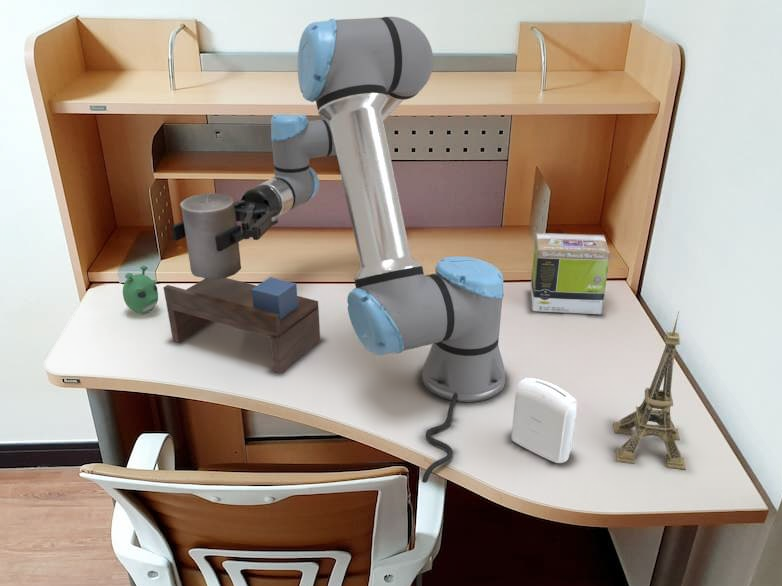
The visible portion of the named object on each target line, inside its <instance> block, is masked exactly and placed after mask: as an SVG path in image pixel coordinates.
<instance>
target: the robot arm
mask: <svg viewBox="0 0 782 586" xmlns="http://www.w3.org/2000/svg"><path fill="white" fill-rule="evenodd" d="M297 51H298V52H297V79H298V86H299V90H300V93H301V94H302V97H303V99H304V100H305V101H308V102H311V103H314V102H315V104H316V108H317V112H318V113H317V114H318V115H319V116H320V117H321V118H323V119H315V120H308V117H307V115H306V114H305V115H289V114H286V115H284V114H283V115H282V114H280V115H275V114H273V116H272V117H271V120H270V140H271V147H272V159H273V174H274V177H272V178H270V179H268V180H266V181H264V182H262V183H259V184H257V185H255V186H253V187H251V188H250V189H247V190H246V191H245V192H244V193H243V195H242V196H241V199H240V200H236V201H234V209H235V216H236V222H241V225H237V224H236V225H237V226H235V227H233V228H231V229H229V230H227V231H226V232H224V233H222V234H220V235H218V236H216V237H215V240H216V247H217V251H222V250H224V249H226V248H228V247H229V246H231V245H233V244H235V243H237V242H241V241H243V240H249V239H250V238H252V240H253V241H258V240H260V239H261V238H262V237H264V235H265V234H266V233H267V232H268V230H270V229H271V228H272V227H273V226H275V225H276V224H278V223H279V217H280V216H282V215H284V214H286V213H288V212H290V211H291V210H293V209H295V208H297V207H299V206H301V205H304V204H306V203H307V202H309V201H310V200H311V199H312V198H313V197H315V196H316V195H317V194H318V192H319V189H320V178H319V177H318V175H317V172H316V171H315V170H314V169H313V168H312V167H311V166H310V159H315V158H323V157H330V156H336V157H337V162H338V166H339V167H338V168H339V171H340V176H341V181H342V186H343V191H344V196H345V200H346V204H347V209H348V214H349V218H350V224H351V228H352V233H353V237H354V238H353V239H354V242H355V247H356V251H357V257H358V260H359V266H360V267H359V270H358V272H357V273H356V274H355V276H354V278H353V280H354V286H355V288H353V289H351V291H349V292H348V295H347V298H346V302H347V312H348V317H349V320H350V324H351V326H352V329H353V331H354V333H355V335H356V337H357V338H358V341H359V342H360V343H361V345H362V346H363V347H364V348H365V349H366V350H367V351H368V352H370V353H371V354H373V355H375V356H384V355H385V356H386V355H390V354H401V353H403V352H405V351H409V350H413V349H417V348H420V347H425V346H430V345H431V347H430V349H429V352H428V355H427V356H426V359H425V362H424V364H423V368H422V382H423V384H424V387H425V388H426V389H427V390H428V391H429V392H431V393H432V394H433V395H435V396H437V397H439V398H442V399H445V400H448V401H450V403H449V406H448V409H447V415H446V418H445V421H444V422H443V423H441V424H439V425H436V426H432V427H431V428H430V427H429V429H427V430H426V432H425V438H426V440H427V441H428V442H429V443H431V444H432V445H435V446H437V447H439V448H442V449H444V450H445V451H446V452H447V454H446V455H445V456H444V457H441V458H440V459H438V460H435V461H434V462H432V463H431V464H430V465H429V466H428V467H427V468H426V470H425V472H424V474H423V476H422V479H421V482H422V483H424V484H425V483H427V482H428V480H429V478H430V475H431V474H432V472H433V471H434V470H435V469H436V468H438V467H440V466H441V465H443V464H446V463H447V462H449V461H450V460H451V459H452V458H453V456H454V455H453V454H454V451H453V449H452V447H451V446H450V445H449V444H447V443H445V442H443V441H441V440H438V439H436V438H434V437H433V436H432V434H433V433H437V432H439V431H443V430H444V429H446V428H448V427H449V426H450V424H451V423H452V418H453V412H454V409H455V407H456V403H457V402H460V403H475V402H480V401H481V402H483V401H485V400H488V399H491V398H493V397H495V396H497V395H499V393H500V392H502V390H503V389H504V386H505V383H506V369H505V365H504V361H503V358H502V354H501V351H500V347H499V341H500V340H499V339H500V329H501V319H502V307H503V298H504V296H505V293H504V277H503V274H502V272H501V270H500V269H498V267H496V266H495V265H493V264H492V263H490V262H487V261H485V260H482V259H478V258H475V257H469V256H459V255H458V256H456V255H455V256H447V257H444V258H443V257H442V258H441V259H440V260H439V261H438V262H436V266H434V267H435V268H434V269H435V273H431V274H425V273H424V268H423V264H422V263H421V262H420V261H417V260H416V259H415V258H414V257H412V255H411V250H410V245H409V239H408V235H407V229H406V225H405V221H404V216H403V211H402V206H401V201H400V196H399V191H398V186H397V182H396V177H395V172H394V168H393V167H394V166H393V163H392V157H391V153H390V148H389V143H388V138H387V133H386V128H385V123H384V121H386V119H387V118H388V117H389V116H390V115H391V114H392V113H393V112H394V111H395V109H397V108H398V107H399V105H401V103H402V102H403V101H406V100H410V99H412V98H414V97H415V96H417V95H418V94H419V93H420V92H421V91H422V90H423V88H424V87H425V86H426V85H427V84H428V82H429V79H430V78H431V75H432V73H433V67H434V54H433V49H432V45H431V44H430V41H429V39H428V37H427V36H426V34H425V33H424V32H423V31H422V30H421V29H420V27H418V26H417V25H416V24H415V23H413V22H411V21H410V20H407V19H405V18H402V17H399V16H398V17H397V16H383V17H365V18H362V17H361V18H346V19H335V18H330V19H329V20H322V21H321V20H320V21H313V22H310V23H309V24H308V25H306V27H305V28H304V30H303V31H302V34H301V36H300V40H299V45H298V50H297ZM171 233H172V240H173V241H174V242H175V241H176V242H178V241H179V240H180V241H181V240H182V239H183V238H186V234H185V228H184V221H183V220H182V221H180V222H178V223H176V224H174V225H172V226H171ZM422 585H423V572H422V573H421V574H419V575H418V576H417V575H416V586H422Z"/></svg>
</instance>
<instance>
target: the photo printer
mask: <svg viewBox="0 0 782 586" xmlns="http://www.w3.org/2000/svg"><path fill="white" fill-rule="evenodd" d="M514 395H515V396H514V405H513V415H512V426H511V441H512V442H514V443H515V444H517V445H519V446H521V447H522V448H524V449H526V450H528V451H530V452H532V453H534V454H536V455H538V456H540V457H542V458H544V459H546V460H548V461H550V462H553V463H556V464H563V463H566V462H567V461H568V460H569V459H570V454H571V451H572V444H573V437H574V430H575V424H576V418H577V410H578V401H577V400H576V398H574V397H573V396H572V395H571V394H570V393H569V392H567V391H566V390H564V389H563V388H561V387H560V386H558V385H556V384H553V383H551V382H549V381H546V380H543V379H539V378H535V377H524V378H523V379H522V380H519V383H518V385H517V387H516V390H515V394H514Z"/></svg>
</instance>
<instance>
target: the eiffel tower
mask: <svg viewBox="0 0 782 586" xmlns="http://www.w3.org/2000/svg"><path fill="white" fill-rule="evenodd" d="M679 314H680V310H678V311H677V315H676V319H675V323H674V326H673V330H672V332H671V331H666V334H665V335H664V336H663V339H664V343H665V346H664V349H663V352H662V355H661V358H660V360H659V363H658V366H657V368H656V371H655V372H654V373H655V374H654V376H653V379H652V381H651V384H650V386H649V387H646V388H645V389H644V398H643V401H642V403H641V404H640V405H639V406H635V409H636V411H633V412H632V413H630V414H628V415H626V416H624V417H623V418H621V419H620V420H619V421H613V433H614V434H622V435H630V436H631V435H632V429H633V428H635V434H633V435H632V436H631V437H630V438H629V439H628V440H627V441H626V442H625V443H623V444H622V445H621V446H620V448H618V449H615V457H616V458H615V459H616V462H617V463H625V464H633V465H634V464H635V463H636V461H635V460H636V456H635V454H636V452H637V449H638V447H639V444H640V442H641V440H642V439H643V438H645V437H648V436H649V437H650V436H656V437H658V438H660V439H661V440H662V441H663V442H664V445H665V449H666V452H667V453H666V454H665V463H666V468H668V469H676V470H684V471H685V470H686V469H687V468H686V462H685V457H684V456H683V457H682V453H681V451H680V450H679V448H678V446H677V444H676V442H675V441H680V434H679V429H678V428H676V427H675V425H674V422H673V421H672V418H671V417H672V416H671V407H674V399H673V396H672V383H673V371H674V362H675V354H676V347H677V346H680V345H681V341H680V340H681V337H680V334H679V332H676V329H677V323H678V317H679ZM662 384H663V386H662ZM661 386H662V389H661ZM648 422H650V423H651V422H652V423H656V424H649V423H648ZM657 424H658V425H657Z"/></svg>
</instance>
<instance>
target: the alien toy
mask: <svg viewBox="0 0 782 586" xmlns="http://www.w3.org/2000/svg"><path fill="white" fill-rule="evenodd" d="M139 269H141V271H142V273H137V274H136V273H135V274H134V273H133V272H127V273H126V274H125V276H124V278H125V281H124V284H123V286H122V297H123V301H124V303H125V305H126V306H127V308H128V309H129V310H130V311H132V312H133V313H136V314H140V315H144V314H148V313H150V312H152V311H153V310H154V309H155V308H156V305H157V303H158V302H159V292H158V291H159V290H158V287H157V285H156V284H157V281H156V279H152V278H150V277H149V276H148V275H146V274H145V273H146V271H147V270H149V268H148V266H147V265H144V264H143V265H141V266H139Z"/></svg>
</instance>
